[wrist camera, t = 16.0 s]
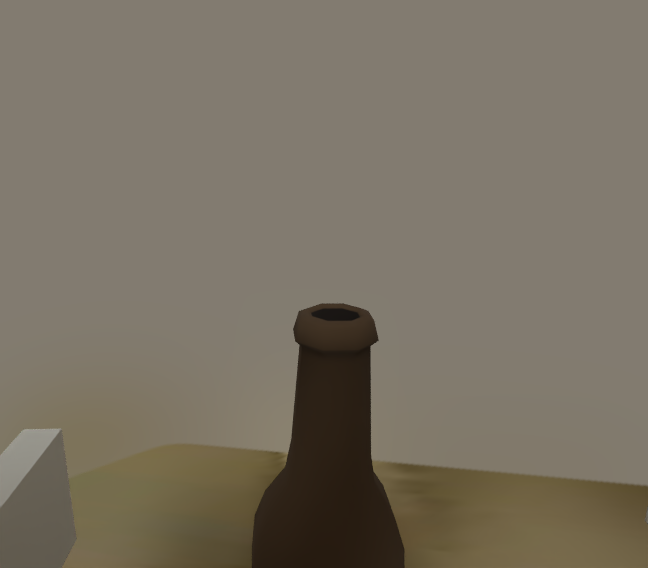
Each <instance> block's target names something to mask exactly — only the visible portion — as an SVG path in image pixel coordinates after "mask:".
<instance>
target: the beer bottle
mask: <svg viewBox="0 0 648 568" xmlns="http://www.w3.org/2000/svg"><path fill="white" fill-rule="evenodd" d="M293 330H294V336H295V341H296V342H297V343H298V344H299V345H300V347H299V358H298V370H297V381H296V393H295V403H294V415H293V427H292V439H291V444H290V448H289V452H288V457H287V462H286V466H285V468H284V469H283V470H282V471H281V473H280V474H279V475H278V476H277V477H276V478H275V480H274V481H273V482H272V483H271V484H270V486H269V487H268V488H267V489H266V490H265V492H264V495H263V497H262V499H261V502H260V504H259V506H258V509H257V511H256V514H255V519H254V531H253V543H252V568H404V547H403V543H402V540H401V537H400V534H399V530H398V527H397V524H396V521H395V517H394V515H393V512H392V509H391V506H390V503H389V501H388V498H387V495H386V492H385V490H384V487H383V484H382V483H381V482H380V480H379V479H378V477H377V476H376V474H375V473H374V472H373V466H372V459H371V389H370V388H371V386H370V385H371V383H370V380H371V375H370V346H371V345H373V344H374V343H376V342H377V341H378V336H377V331H376V327H375V323H374V320H373V318H372V316H371V315H370V313H369V312H368V311H367V310H364V309H361V308H358V307H354V306H350V305H346V304H319V305H316V306H313V307H310V308H307V309H304V310H301V311H299V313H298V316H297V319H296V322H295V325H294V328H293Z"/></svg>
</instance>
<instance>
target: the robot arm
mask: <svg viewBox="0 0 648 568" xmlns="http://www.w3.org/2000/svg"><path fill="white" fill-rule="evenodd" d="M645 522H646V523H647V524H648V508H647V512H646V517H645ZM75 541H76V532H75V525H74V517H73V510H72V502H71V495H70V487H69V480H68V473H67V465H66V458H65V451H64V443H63V435H62V429H25V430H23V431H22V432H21V433H20V434H19V435H18V436H17V437H16V438H15V440H14V441H13V442H12V443H11V444H10V445H9V446H8V447H7V448H6V450H5V451H4V452H3V453H2V454H1V455H0V568H62V566H63V564H64V562H65V560H66V558H67V556H68V554H69V553H70V551H71V549H72V547H73V545H74V543H75Z"/></svg>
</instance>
